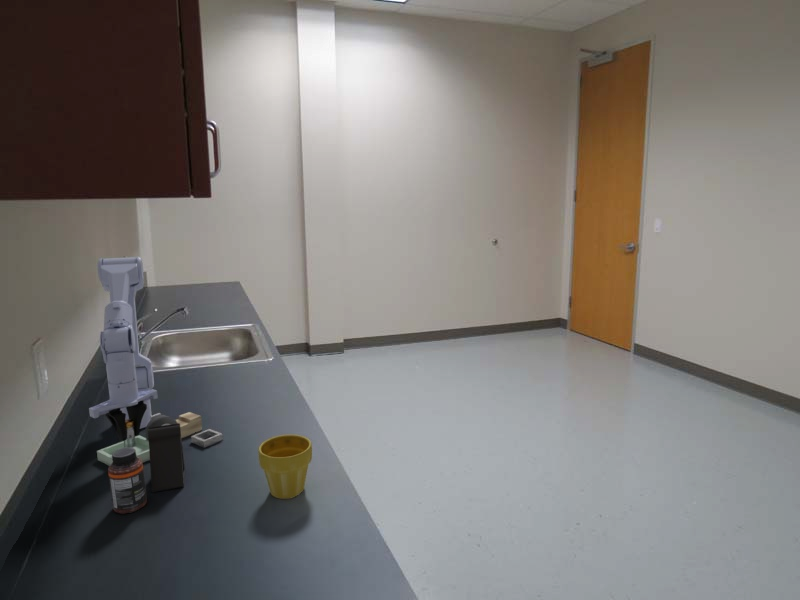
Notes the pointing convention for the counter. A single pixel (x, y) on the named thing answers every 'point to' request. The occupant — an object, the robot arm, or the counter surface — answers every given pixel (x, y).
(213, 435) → the pin socket
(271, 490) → the plant pot
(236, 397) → the counter surface
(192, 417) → the block
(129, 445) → the pin
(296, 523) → the counter surface
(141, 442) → the tray
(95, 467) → the counter surface
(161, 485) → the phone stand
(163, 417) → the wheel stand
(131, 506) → the supplement bottle
